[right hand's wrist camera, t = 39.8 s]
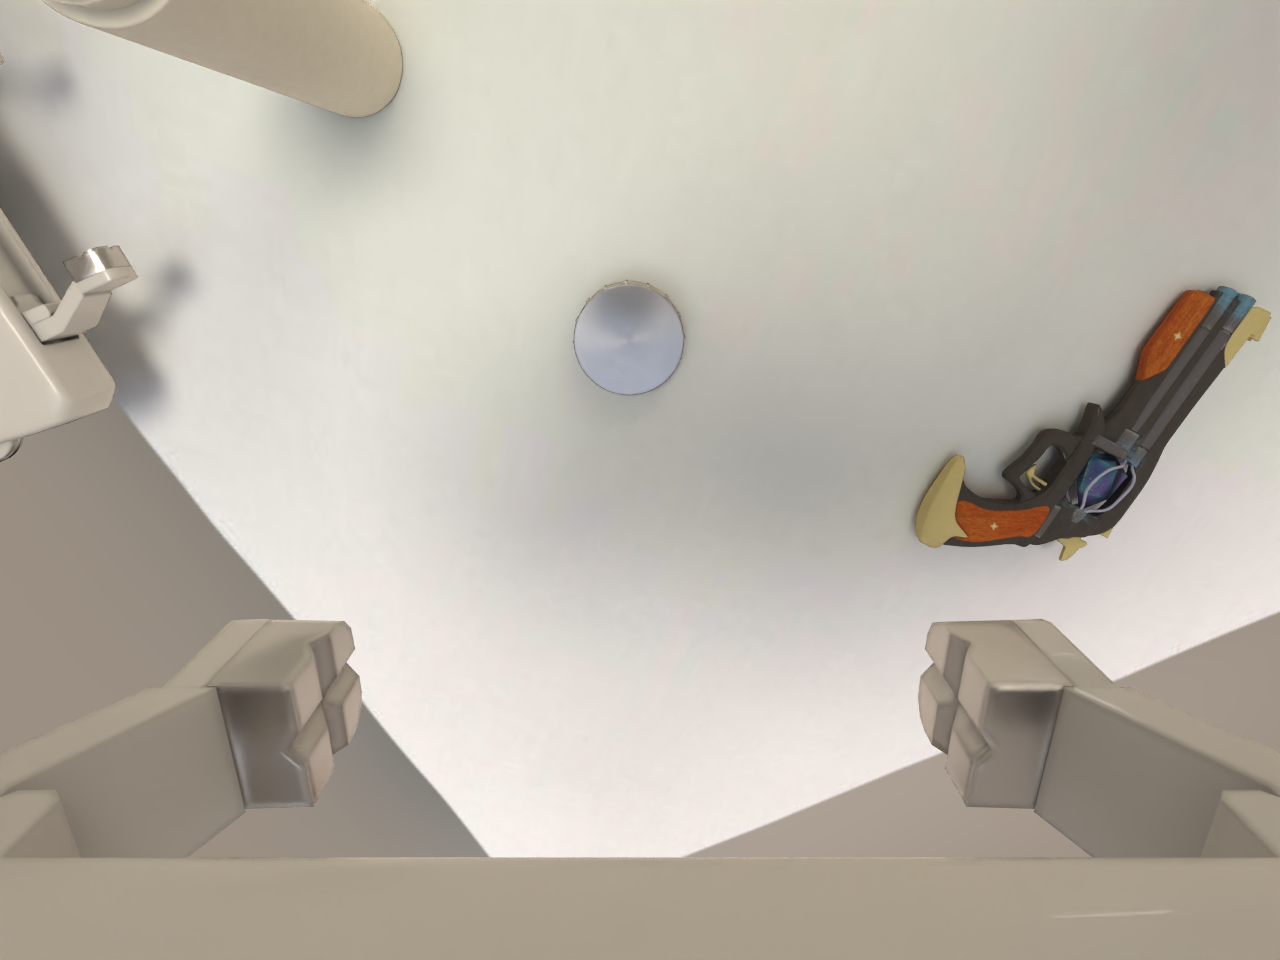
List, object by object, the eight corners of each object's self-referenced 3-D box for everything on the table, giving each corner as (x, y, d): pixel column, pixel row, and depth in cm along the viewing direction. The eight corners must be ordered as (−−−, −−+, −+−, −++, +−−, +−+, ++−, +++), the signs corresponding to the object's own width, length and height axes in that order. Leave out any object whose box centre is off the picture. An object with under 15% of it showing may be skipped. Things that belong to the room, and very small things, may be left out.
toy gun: (911, 540, 40) (1066, 622, 40) (1122, 217, 35) (1294, 313, 36) (898, 526, 42) (1043, 603, 43) (1092, 224, 38) (1253, 313, 38)
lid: (557, 353, 39) (553, 359, 37) (610, 259, 37) (608, 261, 35) (647, 406, 40) (647, 415, 38) (702, 317, 38) (705, 322, 36)
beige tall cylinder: (324, -28, 33) (-51, -322, 15) (421, 42, 34) (177, -157, 16) (279, 75, 34) (-112, -82, 16) (373, 139, 35) (101, 57, 17)
